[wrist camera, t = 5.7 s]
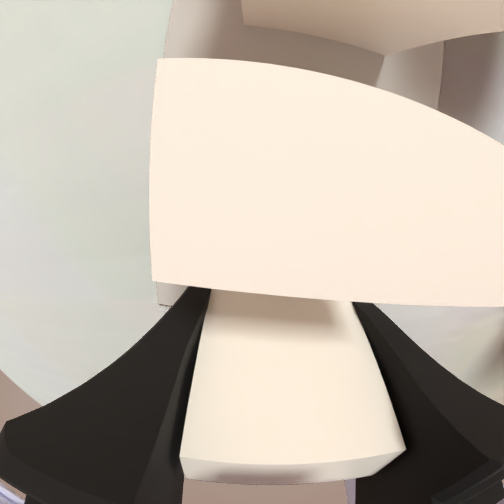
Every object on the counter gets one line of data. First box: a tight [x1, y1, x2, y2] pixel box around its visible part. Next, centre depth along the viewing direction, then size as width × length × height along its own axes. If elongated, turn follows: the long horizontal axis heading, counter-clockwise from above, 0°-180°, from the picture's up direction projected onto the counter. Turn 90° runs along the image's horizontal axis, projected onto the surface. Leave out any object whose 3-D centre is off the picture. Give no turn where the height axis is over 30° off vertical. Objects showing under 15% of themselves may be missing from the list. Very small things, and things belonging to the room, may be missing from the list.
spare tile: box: [179, 289, 406, 485], centre depth 7 cm, size 2×4×7 cm, turn 83°
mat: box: [156, 0, 444, 307], centre depth 6 cm, size 22×9×1 cm, turn 173°
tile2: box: [149, 58, 504, 307], centre depth 5 cm, size 2×4×7 cm, turn 83°
